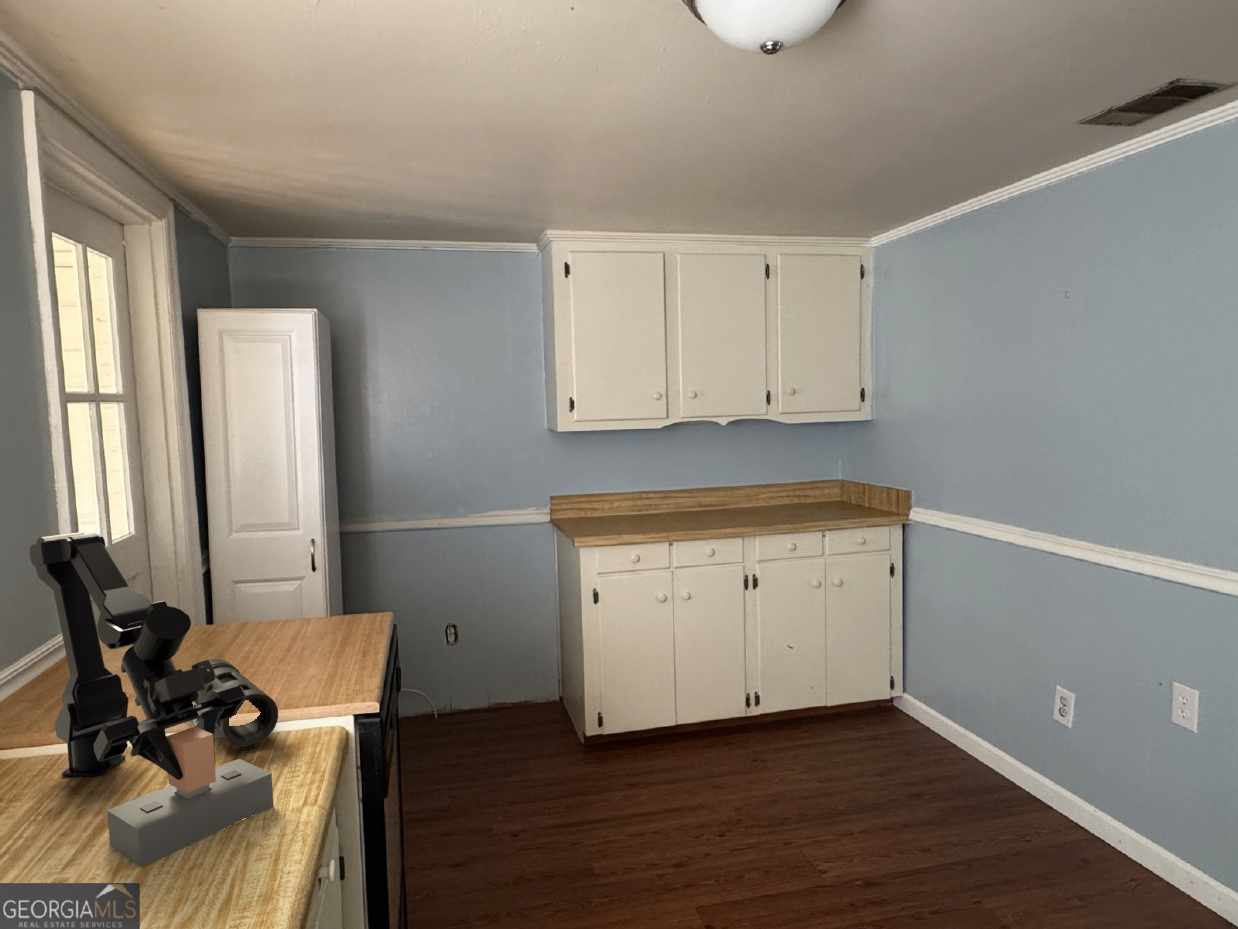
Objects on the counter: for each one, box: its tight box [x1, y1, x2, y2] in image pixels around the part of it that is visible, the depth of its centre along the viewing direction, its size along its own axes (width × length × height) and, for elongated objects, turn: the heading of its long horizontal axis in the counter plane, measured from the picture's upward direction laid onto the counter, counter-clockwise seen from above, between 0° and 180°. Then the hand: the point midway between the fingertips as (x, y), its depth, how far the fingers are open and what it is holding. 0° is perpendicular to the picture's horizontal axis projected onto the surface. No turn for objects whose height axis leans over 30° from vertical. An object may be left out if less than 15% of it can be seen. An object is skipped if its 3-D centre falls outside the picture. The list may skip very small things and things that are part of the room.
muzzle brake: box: [194, 658, 279, 751], centre depth 142 cm, size 10×28×10 cm, turn 42°
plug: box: [166, 726, 216, 800], centre depth 107 cm, size 5×4×11 cm
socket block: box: [107, 758, 274, 869], centre depth 107 cm, size 9×18×5 cm, turn 145°
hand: (197, 772), depth 106 cm, fingers closed on plug, 4 cm apart
